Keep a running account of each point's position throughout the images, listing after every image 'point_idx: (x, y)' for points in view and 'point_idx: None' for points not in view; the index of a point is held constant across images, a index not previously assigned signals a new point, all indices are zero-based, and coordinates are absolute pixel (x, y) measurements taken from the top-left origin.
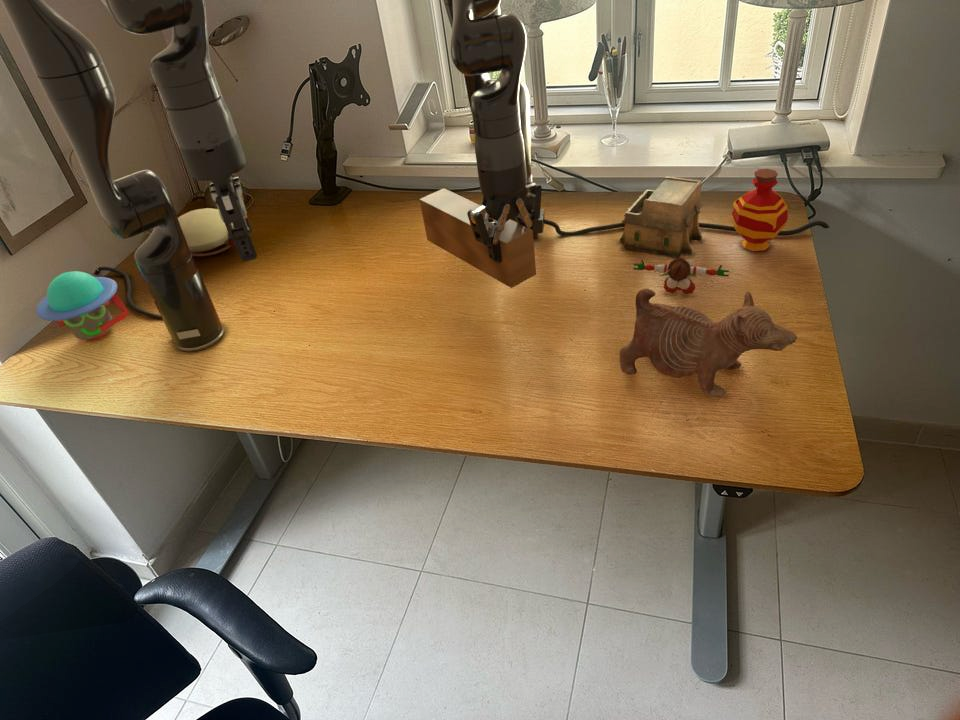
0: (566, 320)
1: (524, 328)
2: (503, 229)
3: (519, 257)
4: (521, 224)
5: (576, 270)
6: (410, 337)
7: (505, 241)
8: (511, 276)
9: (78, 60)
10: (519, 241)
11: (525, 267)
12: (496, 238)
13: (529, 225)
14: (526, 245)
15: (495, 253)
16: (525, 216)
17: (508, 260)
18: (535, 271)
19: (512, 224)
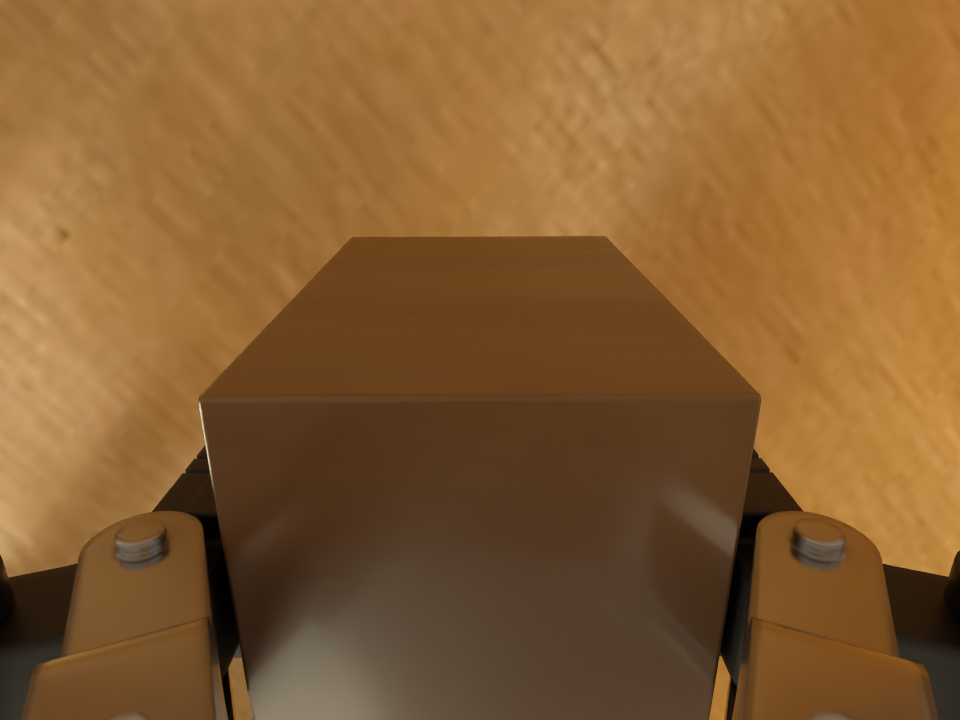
0: (289, 106)
1: (481, 213)
2: (761, 625)
3: (509, 297)
4: (225, 628)
5: (3, 386)
6: (841, 515)
7: (723, 451)
8: (613, 257)
9: None
10: (493, 365)
11: (449, 259)
12: (826, 570)
13: (160, 524)
14: (387, 326)
15: None
16: (147, 660)
17: (671, 306)
18: (352, 243)
19: (324, 701)
